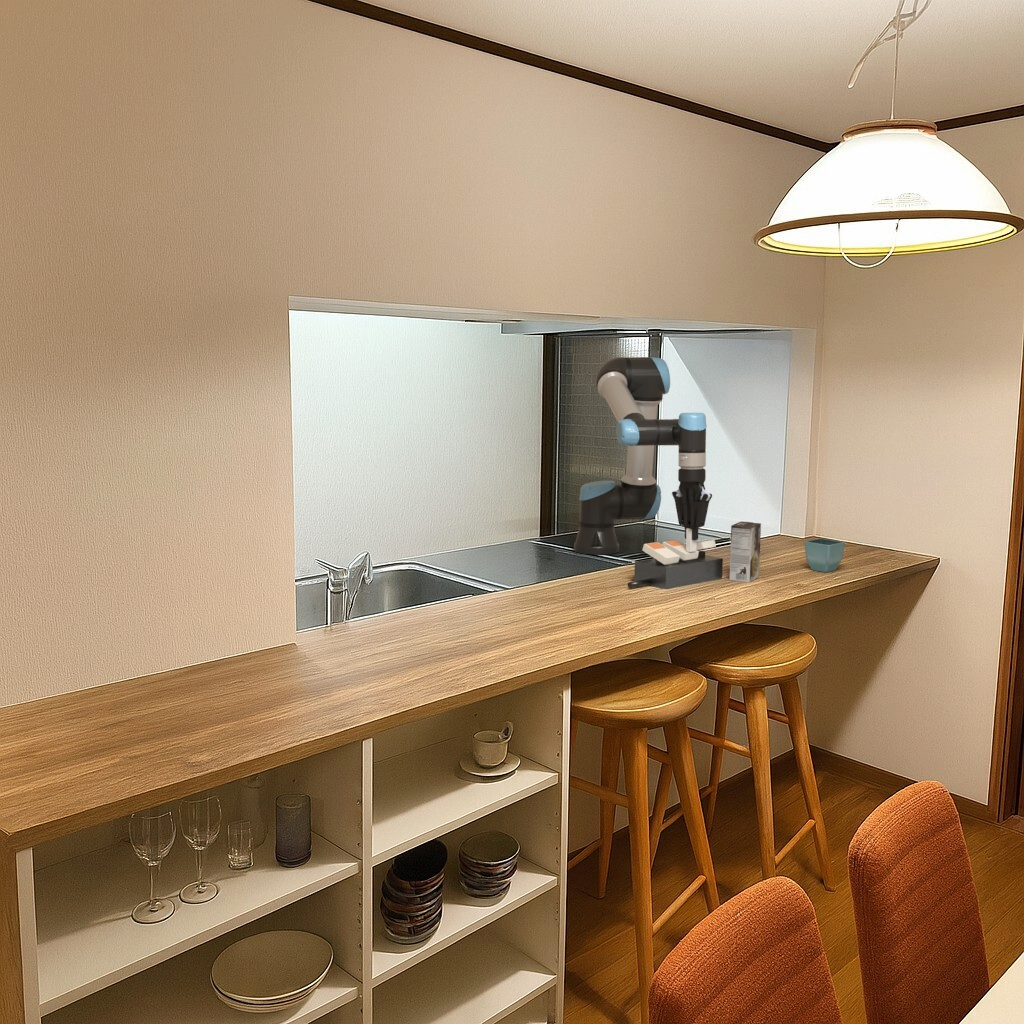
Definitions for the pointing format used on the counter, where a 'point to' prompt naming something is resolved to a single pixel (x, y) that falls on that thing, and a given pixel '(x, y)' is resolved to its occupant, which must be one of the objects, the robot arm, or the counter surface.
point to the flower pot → (824, 554)
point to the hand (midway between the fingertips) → (691, 551)
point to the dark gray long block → (677, 572)
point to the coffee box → (745, 551)
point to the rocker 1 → (661, 553)
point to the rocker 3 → (705, 545)
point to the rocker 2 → (680, 550)
